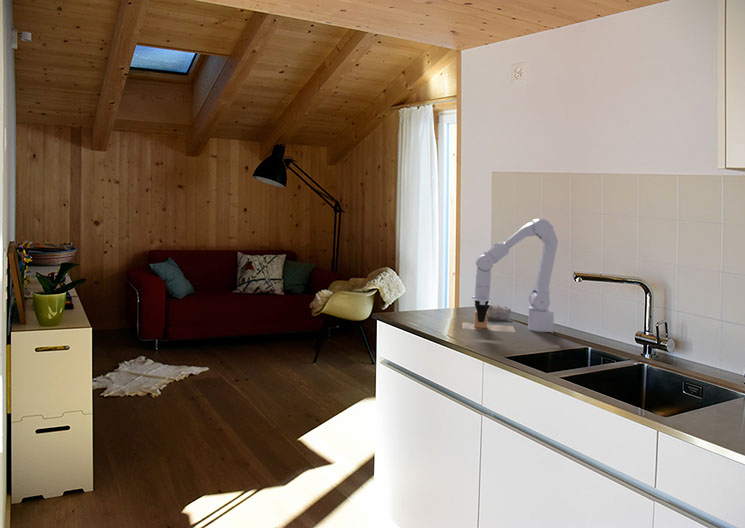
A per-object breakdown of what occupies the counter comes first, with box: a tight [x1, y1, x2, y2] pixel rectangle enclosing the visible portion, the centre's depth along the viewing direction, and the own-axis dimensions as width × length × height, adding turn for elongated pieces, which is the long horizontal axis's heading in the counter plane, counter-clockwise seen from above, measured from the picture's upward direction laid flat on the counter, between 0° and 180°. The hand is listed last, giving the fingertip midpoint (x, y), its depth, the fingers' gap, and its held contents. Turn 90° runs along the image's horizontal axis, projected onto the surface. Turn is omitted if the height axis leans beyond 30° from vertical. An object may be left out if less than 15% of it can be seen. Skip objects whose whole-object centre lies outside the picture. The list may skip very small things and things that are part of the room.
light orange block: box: [473, 309, 488, 328], centre depth 251 cm, size 5×5×6 cm
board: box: [461, 322, 516, 333], centre depth 250 cm, size 20×12×4 cm, turn 82°
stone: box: [487, 304, 512, 321], centre depth 270 cm, size 8×12×7 cm, turn 103°
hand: (480, 320), depth 251 cm, fingers open, 7 cm apart
